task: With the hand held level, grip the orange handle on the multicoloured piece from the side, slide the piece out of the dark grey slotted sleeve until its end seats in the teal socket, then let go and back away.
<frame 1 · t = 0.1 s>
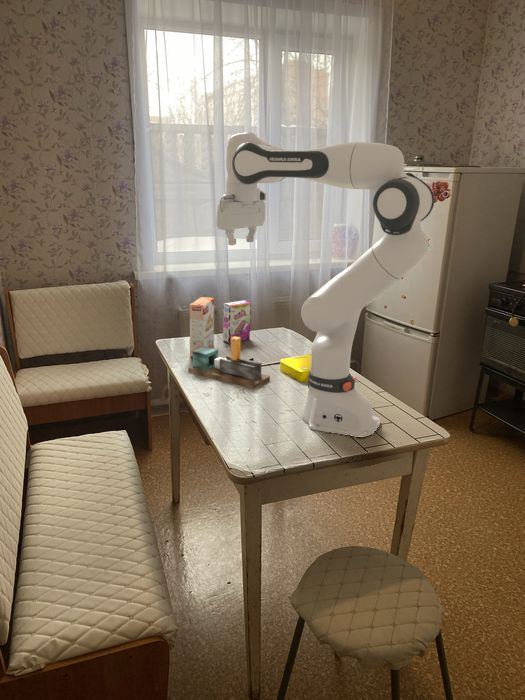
hand: (241, 243, 154), 48 cm above the table, tool pointing down, fingers open, 8 cm apart
cracker box: (202, 352, 207), on the table
candy bar box: (236, 340, 224), on the table
slip tube stand: (228, 375, 184), on the table
element tile: (306, 373, 189), on the table
multicoloured piece: (230, 353, 181), point 9 cm above the table, slide at 0.0 cm
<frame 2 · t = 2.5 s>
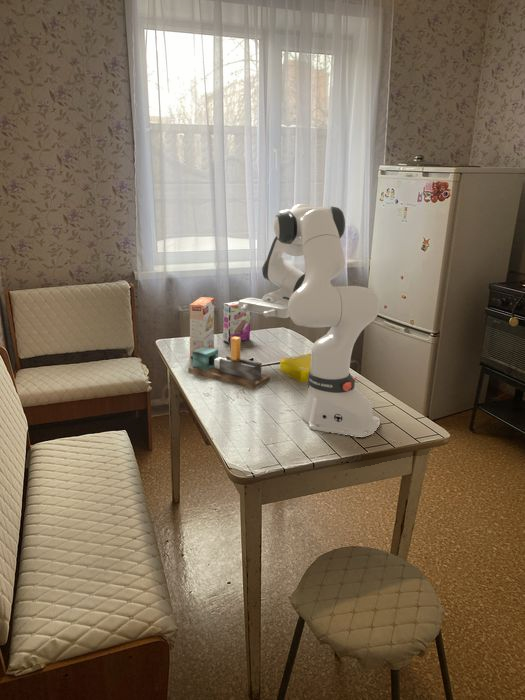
hand: (253, 312, 185), 21 cm above the table, tool horizontal, fingers open, 8 cm apart
nothing on the table moved.
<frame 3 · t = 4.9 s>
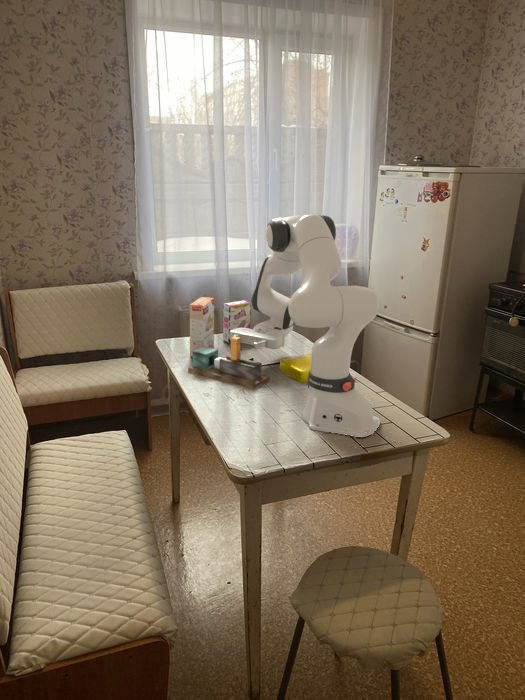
hand: (243, 343, 183), 11 cm above the table, tool horizontal, fingers open, 8 cm apart
nothing on the table moved.
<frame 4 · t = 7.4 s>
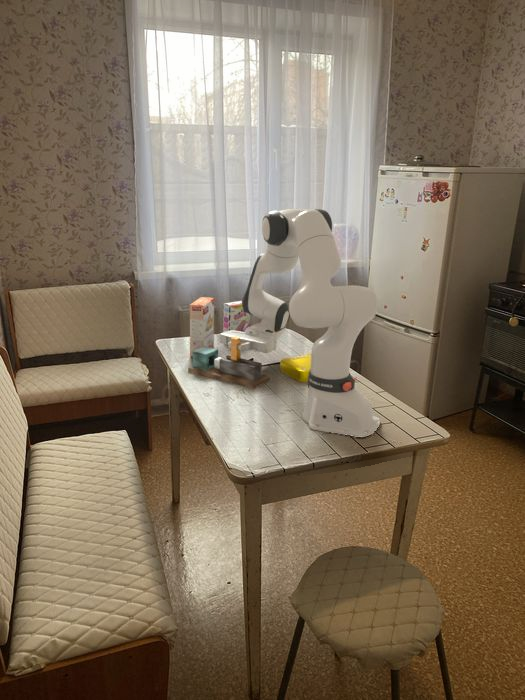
hand: (234, 346, 178), 12 cm above the table, tool horizontal, fingers closed on multicoloured piece, 2 cm apart
multicoloured piece: (230, 353, 181), point 9 cm above the table, slide at 0.0 cm, touching gripper
everything else where it was.
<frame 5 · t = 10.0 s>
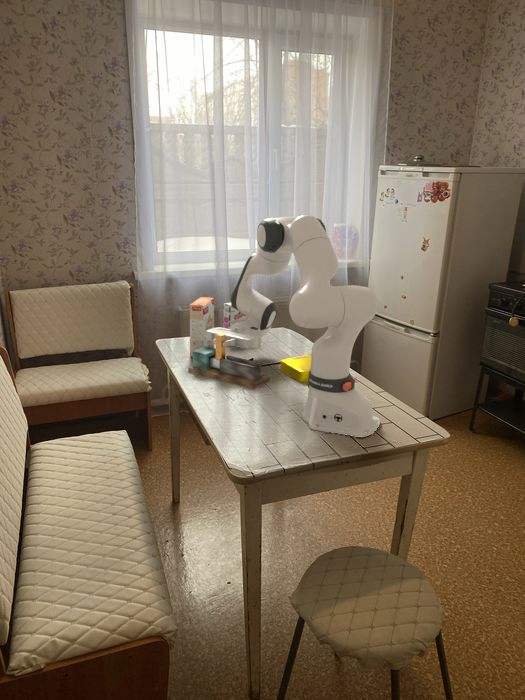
hand: (219, 343, 181), 12 cm above the table, tool horizontal, fingers closed on multicoloured piece, 2 cm apart
multicoloured piece: (215, 350, 184), point 9 cm above the table, slide at 6.4 cm, touching gripper
everything else where it was.
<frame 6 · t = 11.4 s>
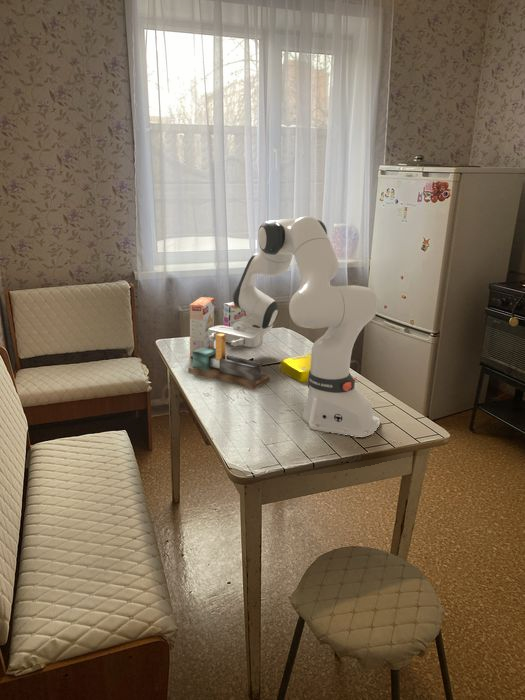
hand: (221, 341, 183), 12 cm above the table, tool horizontal, fingers open, 8 cm apart
multicoloured piece: (216, 350, 184), point 9 cm above the table, slide at 6.3 cm
everything else where it was.
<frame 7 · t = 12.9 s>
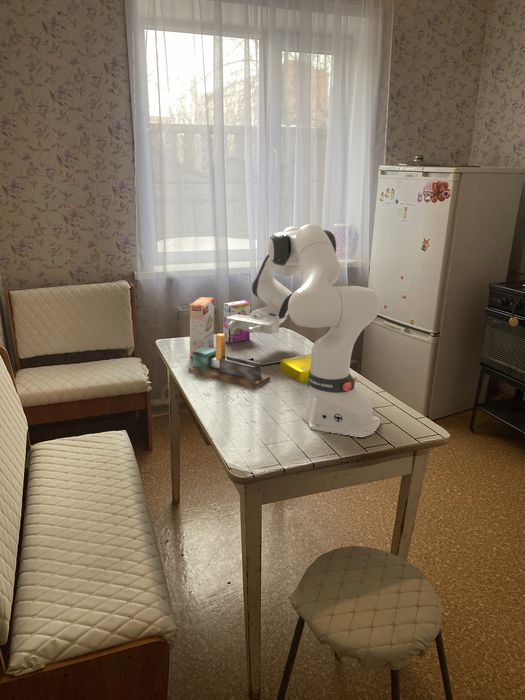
hand: (239, 328, 191), 14 cm above the table, tool horizontal, fingers open, 8 cm apart
nothing on the table moved.
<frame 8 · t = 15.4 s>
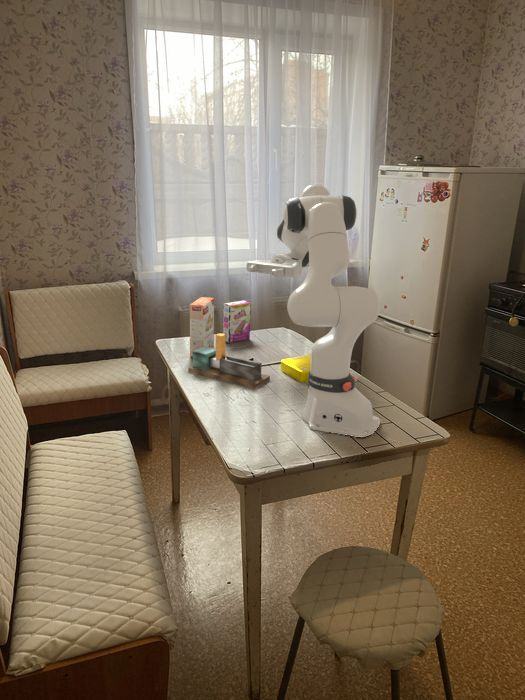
hand: (261, 271, 184), 35 cm above the table, tool horizontal, fingers open, 8 cm apart
nothing on the table moved.
at the end: multicoloured piece slide at 6.3 cm; the gripper is holding nothing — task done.
